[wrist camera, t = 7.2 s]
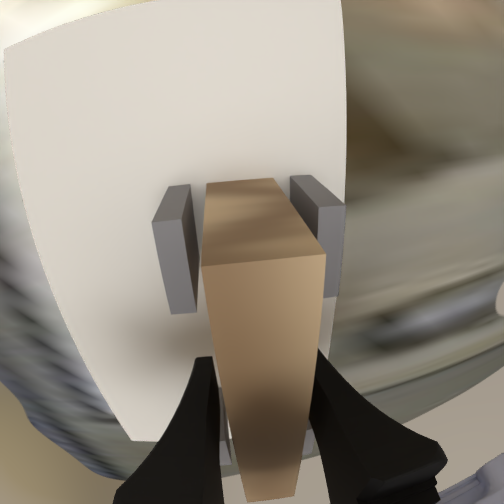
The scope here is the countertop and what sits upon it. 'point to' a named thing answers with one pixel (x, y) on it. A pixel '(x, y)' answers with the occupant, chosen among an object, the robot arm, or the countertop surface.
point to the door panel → (263, 325)
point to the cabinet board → (170, 172)
